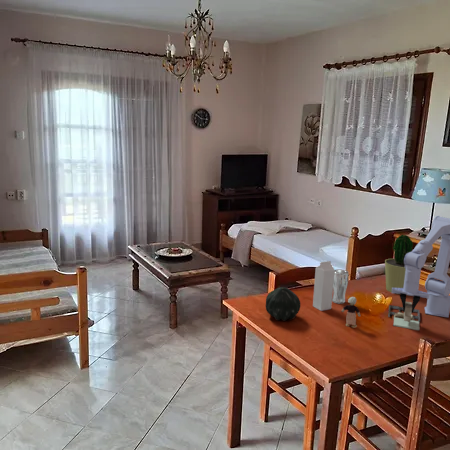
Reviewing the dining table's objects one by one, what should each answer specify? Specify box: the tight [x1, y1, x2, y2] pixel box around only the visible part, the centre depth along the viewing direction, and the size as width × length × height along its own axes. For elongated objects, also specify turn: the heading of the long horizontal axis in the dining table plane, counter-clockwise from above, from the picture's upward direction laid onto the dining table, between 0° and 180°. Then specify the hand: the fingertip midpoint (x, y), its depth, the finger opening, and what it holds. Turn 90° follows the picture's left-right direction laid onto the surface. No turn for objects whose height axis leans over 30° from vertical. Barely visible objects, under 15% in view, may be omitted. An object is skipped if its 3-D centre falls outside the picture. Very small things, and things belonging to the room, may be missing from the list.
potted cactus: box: [384, 234, 414, 295], centre depth 223 cm, size 15×15×30 cm
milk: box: [312, 260, 336, 312], centre depth 199 cm, size 6×6×22 cm
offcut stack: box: [393, 311, 415, 321], centre depth 192 cm, size 8×3×2 cm, turn 66°
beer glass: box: [332, 268, 349, 305], centre depth 207 cm, size 7×7×15 cm
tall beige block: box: [403, 301, 413, 322], centre depth 185 cm, size 2×7×6 cm, turn 158°
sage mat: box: [393, 316, 420, 331], centre depth 186 cm, size 10×8×1 cm
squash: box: [265, 286, 301, 322], centre depth 188 cm, size 14×15×15 cm
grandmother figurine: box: [341, 296, 361, 329], centre depth 182 cm, size 8×4×13 cm, turn 71°
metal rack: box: [387, 304, 421, 323], centre depth 196 cm, size 13×12×1 cm
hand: (407, 311), depth 185 cm, fingers closed on tall beige block, 2 cm apart
